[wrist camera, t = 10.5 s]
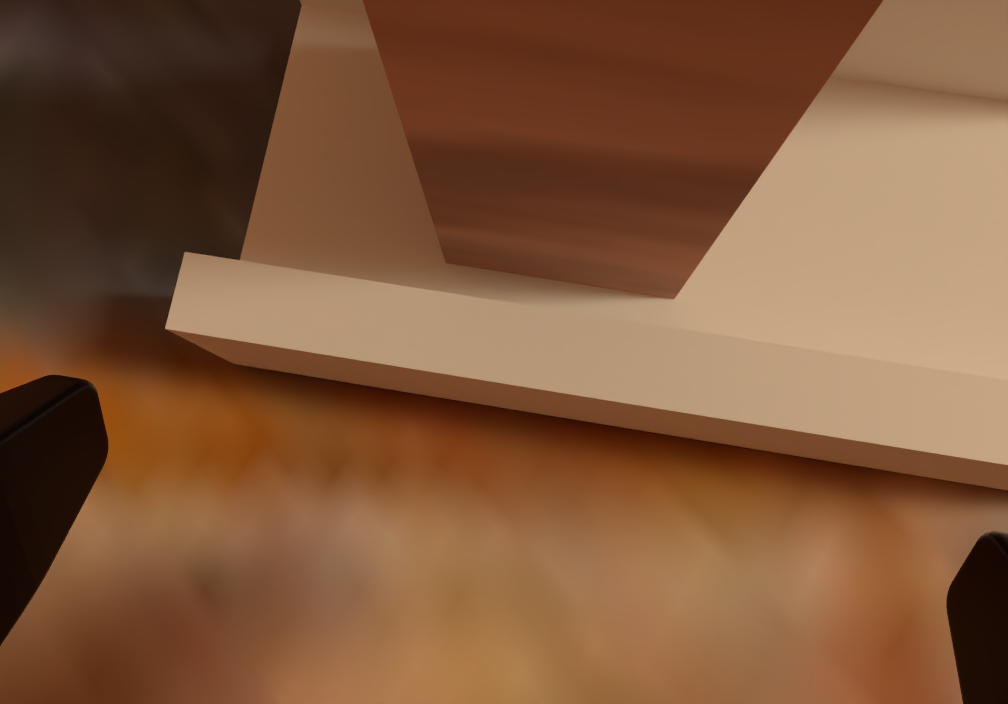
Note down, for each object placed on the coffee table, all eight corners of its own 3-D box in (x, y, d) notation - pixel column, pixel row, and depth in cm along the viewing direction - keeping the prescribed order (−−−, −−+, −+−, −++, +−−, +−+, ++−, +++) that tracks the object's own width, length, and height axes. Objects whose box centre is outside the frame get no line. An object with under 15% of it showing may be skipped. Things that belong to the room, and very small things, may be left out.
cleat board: (1094, 504, 17) (2097, 490, 6) (233, 363, 18) (-201, 141, 7) (1105, 43, 19) (1864, -570, 8) (333, -58, 20) (111, -717, 9)
